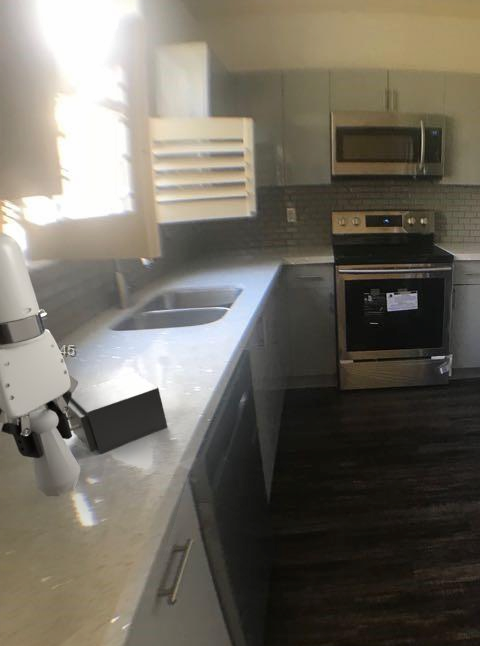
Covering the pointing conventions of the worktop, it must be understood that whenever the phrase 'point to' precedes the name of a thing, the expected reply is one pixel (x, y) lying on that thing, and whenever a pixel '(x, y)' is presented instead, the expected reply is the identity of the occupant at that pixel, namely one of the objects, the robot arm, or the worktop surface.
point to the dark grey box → (121, 410)
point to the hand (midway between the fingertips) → (47, 445)
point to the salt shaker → (52, 456)
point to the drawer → (81, 426)
